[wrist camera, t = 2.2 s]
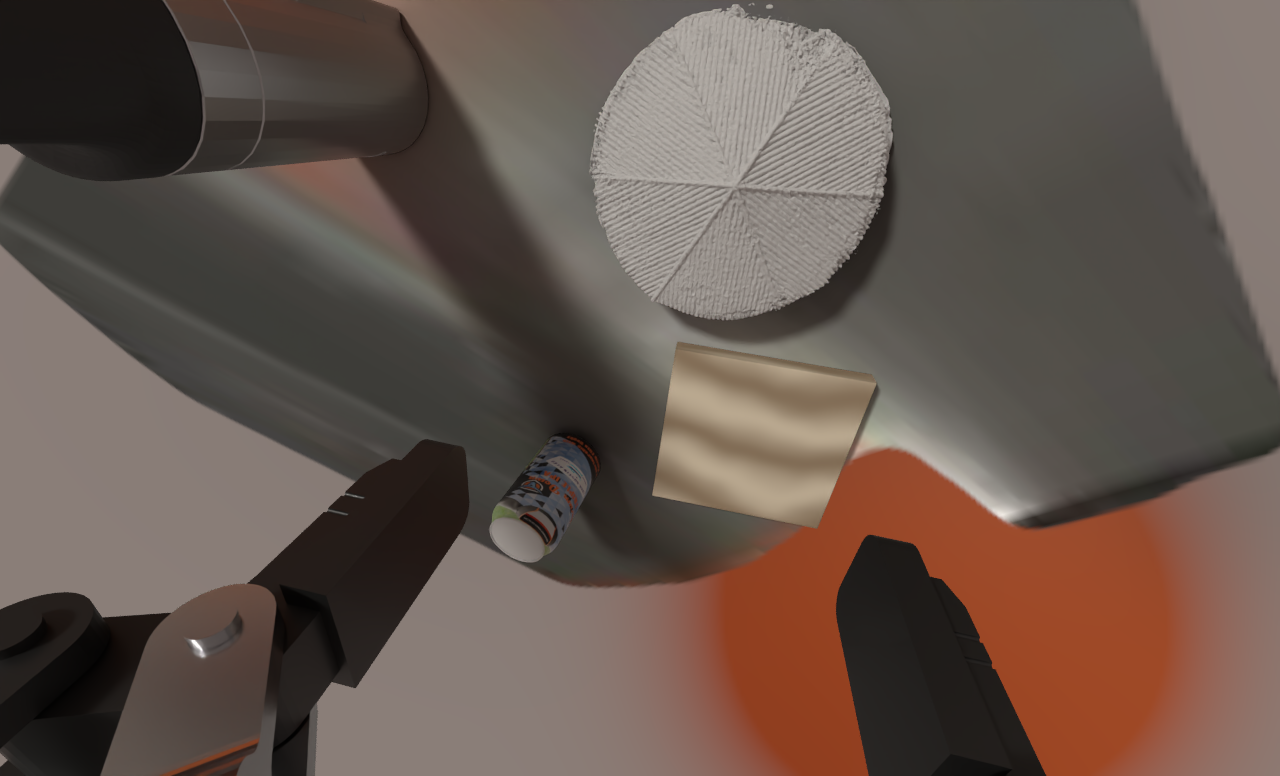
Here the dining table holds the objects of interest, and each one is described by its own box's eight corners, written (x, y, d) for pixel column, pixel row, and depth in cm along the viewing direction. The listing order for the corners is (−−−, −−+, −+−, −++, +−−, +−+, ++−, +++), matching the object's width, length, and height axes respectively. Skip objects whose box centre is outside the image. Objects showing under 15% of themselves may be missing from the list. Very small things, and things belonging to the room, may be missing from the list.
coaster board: (677, 341, 40) (675, 349, 39) (871, 374, 39) (876, 383, 38) (654, 485, 48) (652, 495, 47) (814, 517, 47) (817, 528, 46)
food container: (602, 304, 41) (580, 336, 35) (588, 7, 31) (555, -17, 25) (849, 317, 38) (871, 355, 32) (923, -5, 28) (974, -34, 22)
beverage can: (615, 464, 48) (583, 558, 38) (558, 486, 51) (513, 579, 40) (580, 415, 46) (536, 501, 36) (523, 441, 49) (466, 528, 38)
